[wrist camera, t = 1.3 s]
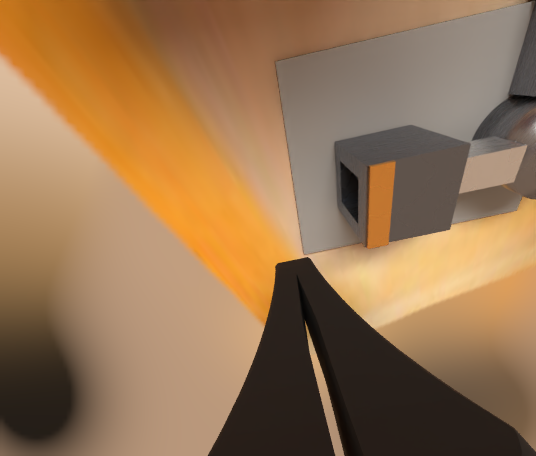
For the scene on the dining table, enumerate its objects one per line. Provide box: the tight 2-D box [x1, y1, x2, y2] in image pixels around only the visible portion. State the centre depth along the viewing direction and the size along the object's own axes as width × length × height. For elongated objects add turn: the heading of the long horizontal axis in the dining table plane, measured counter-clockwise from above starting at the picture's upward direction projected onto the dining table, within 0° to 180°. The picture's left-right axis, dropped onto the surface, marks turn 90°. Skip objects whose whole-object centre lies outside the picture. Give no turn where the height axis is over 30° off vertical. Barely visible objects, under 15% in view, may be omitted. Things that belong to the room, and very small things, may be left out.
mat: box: [275, 0, 536, 254], centre depth 17 cm, size 18×14×1 cm
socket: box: [335, 125, 471, 249], centre depth 15 cm, size 5×5×5 cm
